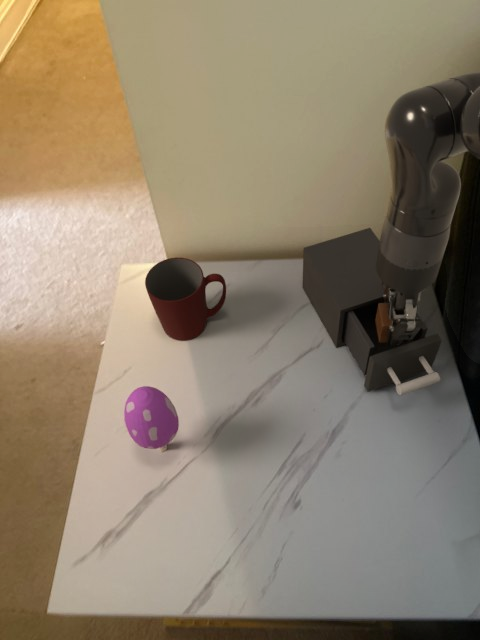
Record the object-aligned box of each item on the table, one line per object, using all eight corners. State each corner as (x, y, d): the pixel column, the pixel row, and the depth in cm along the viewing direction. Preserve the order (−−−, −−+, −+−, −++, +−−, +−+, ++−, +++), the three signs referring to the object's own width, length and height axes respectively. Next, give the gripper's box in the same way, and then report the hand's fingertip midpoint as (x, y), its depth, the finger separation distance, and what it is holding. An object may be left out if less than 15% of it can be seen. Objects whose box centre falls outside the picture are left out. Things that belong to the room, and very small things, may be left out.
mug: (227, 296, 96) (221, 251, 88) (233, 338, 91) (227, 294, 82) (157, 306, 96) (144, 261, 87) (159, 348, 91) (145, 305, 82)
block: (403, 319, 81) (407, 301, 78) (407, 341, 79) (412, 324, 76) (375, 320, 82) (378, 302, 78) (378, 342, 79) (382, 325, 76)
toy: (132, 463, 79) (104, 412, 67) (150, 421, 83) (127, 366, 71) (176, 475, 77) (156, 425, 66) (193, 432, 81) (176, 378, 69)
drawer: (446, 393, 81) (459, 363, 75) (381, 416, 80) (389, 388, 73) (390, 308, 91) (397, 276, 85) (331, 328, 90) (334, 297, 83)
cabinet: (402, 325, 90) (413, 286, 82) (336, 348, 88) (340, 310, 81) (363, 267, 98) (370, 227, 90) (302, 287, 96) (303, 247, 89)
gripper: (458, 288, 62) (428, 371, 76) (432, 202, 71) (409, 291, 84) (389, 291, 62) (371, 373, 76) (372, 205, 71) (359, 293, 85)
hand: (391, 329), depth 80 cm, fingers closed on block, 4 cm apart
